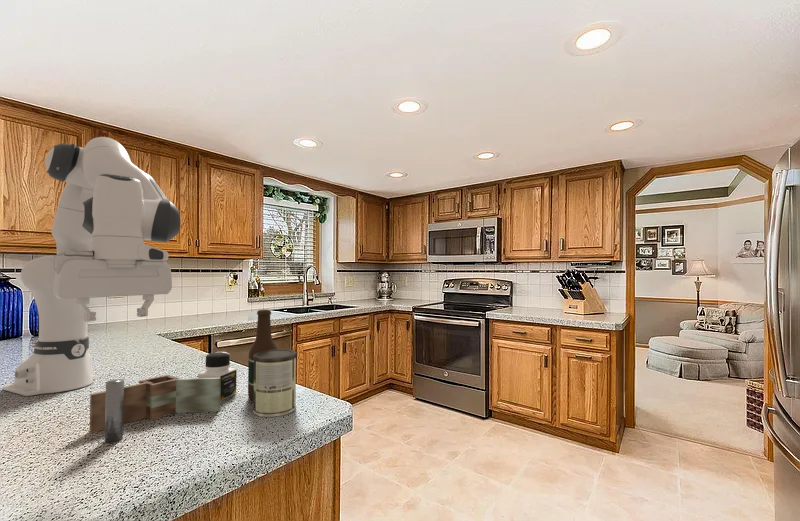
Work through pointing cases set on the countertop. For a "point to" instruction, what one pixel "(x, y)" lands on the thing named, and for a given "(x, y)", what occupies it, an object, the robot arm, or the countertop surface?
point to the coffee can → (274, 382)
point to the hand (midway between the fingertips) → (117, 318)
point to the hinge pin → (114, 410)
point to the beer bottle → (259, 346)
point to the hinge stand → (160, 399)
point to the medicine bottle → (221, 372)
